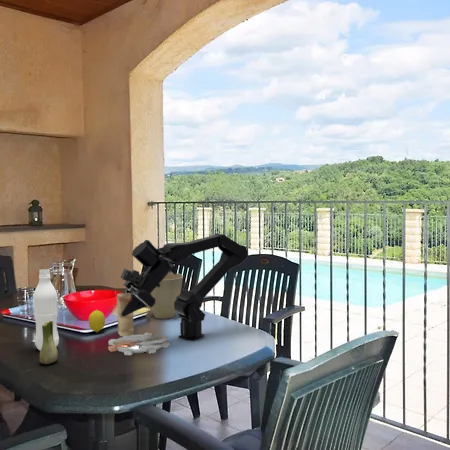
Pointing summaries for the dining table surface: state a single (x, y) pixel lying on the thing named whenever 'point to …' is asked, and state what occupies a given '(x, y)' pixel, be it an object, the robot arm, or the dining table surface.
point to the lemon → (96, 320)
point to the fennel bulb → (48, 345)
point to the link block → (124, 321)
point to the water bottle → (45, 307)
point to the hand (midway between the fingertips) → (120, 313)
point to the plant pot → (167, 296)
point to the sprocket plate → (138, 343)
